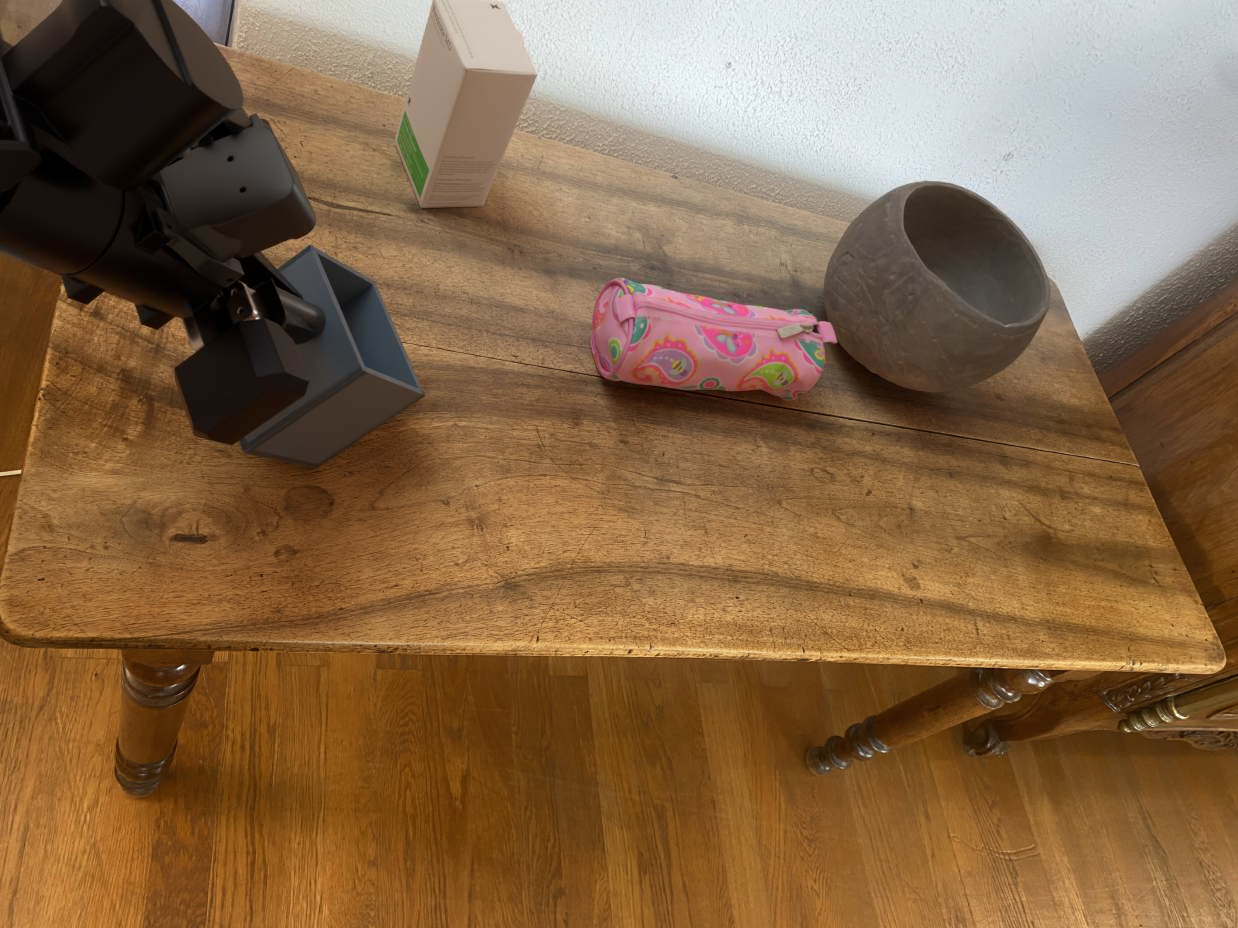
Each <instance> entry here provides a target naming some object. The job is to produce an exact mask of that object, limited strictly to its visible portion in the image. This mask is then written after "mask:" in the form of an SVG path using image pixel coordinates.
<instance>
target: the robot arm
mask: <svg viewBox="0 0 1238 928" xmlns="http://www.w3.org/2000/svg"><path fill="white" fill-rule="evenodd" d="M244 99H245V97H244V93H243V88H242V86H241V83H240V81H239V79H238V77H237V76H236V73H235V72H234V70H233V68H232V66H231V65H230V63H229V62H228V60H227V58H225V56H224V55H223V53H222V52H221V50H220V49H219V48H218V46H217V45H216V44H215V42H214V41H213V40H212V38H211V37H210V36H209V35H208V33H206V31H204V30H203V28H202V27H201V26H200V24H198V23H197V22H196V21H195V19H193V18H192V17H191V16H190V14H188V12H186V11H185V9H183V8H182V7H181V6H180V5H179V4H178V3H177V2H175V1H174V0H61V1H60V4H59V5H58V6H56V8H55V9H54V10H52V12H51V13H50V14H48V15H47V16H46V17H45V18H44V19H43V20H42V21H40V23H38V24H37V25H36V26H35V27H33V29H31V30H30V32H28V33H27V34H26V35H24V36H23V38H21V39H20V40H19V41H18V42H17V43H16V44H14V45H13V44H11V43H9V42H7V41H6V40H5V38H4V35H3V32H2V29H1V27H0V253H1V254H4V255H6V256H8V257H11V258H14V259H17V260H19V261H22V262H24V263H27V264H30V265H32V266H34V267H37V268H40V269H43V270H46V271H48V272H51V273H53V274H56V275H58V276H60V277H61V281H62V284H63V286H64V291H65V294H66V297H67V299H68V300H72V301H74V302H78V303H79V304H83V305H86V306H87V305H89V304H90V303H91V302H93V301H94V300H95V299H97V298H98V297H100V296H101V295H102V294H103V293H106V294H107V295H110V296H114V297H116V298H119V299H121V300H124V301H126V302H128V303H131V304H134V307H135V310H136V313H137V316H138V319H139V322H140V324H141V325H142V326H144V327H147V328H150V329H153V330H155V331H158V330H160V329H161V328H162V327H164V326H166V325H167V324H168V323H169V322H171V321H172V320H173V319H175V318H179V319H181V321H182V324H183V327H184V329H185V333H186V335H187V338H188V340H189V341H188V342H189V344H190V346H191V349H192V350H194V351H195V352H194V353H193V354H191V355H190V356H188V357H187V358H185V359H184V360H183V361H181V362H180V363H179V364H177V365H176V366H175V367H173V373H174V381H175V382H174V383H175V385H176V387H177V391H178V394H179V397H180V400H181V402H182V405H183V408H184V410H185V411H184V412H185V415H186V417H187V420H188V423H189V426H190V428H191V432H192V435H193V436H194V437H197V438H201V439H203V440H206V441H211V442H215V443H219V444H223V445H227V446H233V445H235V444H236V443H238V442H239V440H241V439H242V438H244V437H245V436H246V435H248V434H249V433H251V432H252V431H254V430H255V429H257V428H258V427H260V426H261V425H263V424H264V423H265V422H267V421H268V420H270V419H271V418H273V417H274V416H276V415H277V414H279V413H280V412H281V411H283V410H284V409H286V408H287V407H289V406H290V405H292V404H293V403H295V402H296V401H298V400H299V399H300V398H302V397H303V396H305V393H306V390H307V387H308V384H309V378H308V376H307V373H306V371H305V368H304V366H303V363H302V361H301V358H300V356H299V353H298V351H297V348H296V346H295V345H297V344H303V343H306V342H308V341H310V340H311V339H312V338H314V337H315V336H317V331H316V329H315V328H314V327H313V326H311V325H310V324H309V323H307V322H306V321H305V320H303V319H301V318H300V317H298V316H297V315H295V314H293V313H292V312H290V311H288V310H287V309H285V308H284V306H283V304H282V301H281V299H280V296H279V294H278V291H277V289H276V287H278V288H280V289H282V290H284V291H286V292H289V293H291V294H293V295H295V296H297V297H299V298H301V299H303V297H302V295H301V294H300V293H299V292H298V291H297V289H296V288H295V287H294V286H293V285H292V284H291V283H290V282H289V281H288V280H287V279H286V278H285V277H284V276H283V275H282V274H281V272H280V271H279V270H278V268H277V267H276V266H275V265H274V263H272V262H271V261H270V259H269V258H268V257H266V255H265V254H264V253H263V251H265V250H268V249H271V248H272V247H275V246H277V245H280V244H283V243H284V242H287V241H290V240H299V239H301V238H304V237H306V236H307V235H309V234H310V233H311V232H312V231H313V230H314V228H315V227H316V224H317V215H316V212H315V211H314V210H315V209H314V208H313V206H312V204H311V202H310V199H309V197H308V195H307V191H306V190H305V188H304V184H303V183H302V181H301V178H300V175H299V173H298V171H297V169H296V168H295V166H294V164H293V162H292V161H291V159H290V158H289V156H288V154H287V153H286V151H285V150H284V148H283V146H282V144H281V143H280V141H279V140H278V138H277V136H276V134H275V132H274V130H273V128H272V126H271V123H270V121H269V120H268V119H265V118H260V116H259V115H258V114H257V113H256V112H255V113H253V114H250V115H249V114H248V113H247V111H246V110H245V109H244V108H243V106H244ZM262 282H265V283H264V284H262V285H261V286H260V287H258V288H257V289H256V290H252V288H253V287H254V286H255V285H256V284H258V283H262ZM303 300H304V299H303Z"/></svg>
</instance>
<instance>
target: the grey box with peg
mask: <svg viewBox="0 0 1238 928" xmlns="http://www.w3.org/2000/svg"><path fill="white" fill-rule="evenodd" d="M277 269H278V270H279V271H280V272H281V274H282V275H283V276H284V277H285V278H286V279H287V280H288V281H289V282H290V283H291V284H292V285H293V286H294V287H295V288H296V289H297V291H298V292H299V293H300V294H301V295H302V297H303V299H304V300H303V299H301V298H299V297H297V296H295V295H293V294H291V293H289V292H286V291H284V290H282V289H280V288H278V287H276V289H277V291H278V294H279V296H280V299H281V301H282V304H283V306H284V308H285V309H287V310H288V311H290V312H292V313H293V314H295V315H297V316H298V317H300V318H301V319H303V320H305V321H306V322H307V323H309V324H310V325H311V326H313V327H314V328H315V329H316V331H317V336H315V337H314V338H312V339H311V340H310V341H308V342H306V343H303V344H297V345H295V346H296V348H297V351H298V353H299V356H300V358H301V361H302V363H303V366H304V368H305V371H306V373H307V376H308V378H309V384H308V387H307V390H306V393H305V396H303V397H302V398H300V399H299V400H298V401H296V402H295V403H293V404H292V405H290V406H289V407H287V408H286V409H284V410H283V411H281V412H280V413H279V414H277V415H276V416H274V417H273V418H271V419H270V420H268V421H267V422H265V423H264V424H263V425H261V426H260V427H258V428H257V429H255V430H254V431H252V432H251V433H249V434H248V435H246V436H245V437H244V438H242V439H241V440H239V441H238V442H239V444H240V447H241V450H242V452H243V454H247V455H252V456H256V457H261V458H266V459H270V460H274V461H279V462H284V463H288V464H293V465H297V466H303V467H306V468H311V469H315V470H316V469H317V468H319V467H321V466H322V465H324V464H325V463H327V462H328V461H330V460H331V459H333V458H334V457H336V456H337V455H339V454H340V453H342V452H343V451H345V450H346V449H348V448H349V447H351V446H352V445H354V444H356V443H357V442H358V441H360V440H361V439H363V438H364V437H366V436H367V435H369V434H370V433H372V432H373V431H375V430H377V429H378V428H380V427H381V426H383V425H384V424H385V423H387V422H388V421H390V420H392V419H393V418H395V417H397V416H398V415H399V414H400V413H402V412H404V411H405V410H407V409H408V408H410V407H411V406H413V405H414V404H416V403H418V402H419V401H420V400H421V399H423V398H425V397H426V394H425V391H424V389H423V386H422V385H421V383H420V380H419V377H418V376H417V374H416V371H415V369H414V366H413V365H412V362H411V360H410V357H409V356H408V354H407V353H408V352H407V351H406V348H405V346H404V344H403V342H402V340H401V337H400V335H399V333H398V330H397V328H396V326H395V324H394V321H393V319H392V317H391V315H390V313H389V310H388V308H387V306H386V303H385V301H384V299H383V296H382V294H381V292H380V290H379V288H378V286H377V283H376V281H375V280H374V279H372V278H369V277H368V276H366V275H364V274H362V273H361V272H359V271H357V270H356V269H354V268H352V267H350V266H349V265H347V264H346V263H344V262H343V261H340V260H338V259H336V258H334V257H333V256H331V255H329V254H328V253H325V252H324V251H322V250H320V249H319V248H317V247H315V246H313V245H312V244H309V245H307V246H306V247H305V248H303V249H302V250H301V251H299V252H298V253H297V254H295V255H294V256H292V257H291V258H289V259H288V260H287V261H286V262H285V263H283V264H282V265H280V266H279V267H278V268H277ZM264 283H265V282H262V283H258V284H256V285H255V286H254V287H253V288H252V290H256V289H257V288H258V287H260V286H261V285H262V284H264Z"/></svg>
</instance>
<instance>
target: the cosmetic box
mask: <svg viewBox="0 0 1238 928" xmlns="http://www.w3.org/2000/svg"><path fill="white" fill-rule="evenodd" d="M513 21H514V20H513V19H512V17H511V15H510V13H509V10H508V8H507V6H506V3H505V2H504V1H499V0H432V2H431V6H430V8H429V13H428V17H427V20H426V25H425V27H424V32H423V36H422V39H421V43H420V46H419V50H418V54H417V57H416V61H415V65H414V68H413V72H412V76H411V80H410V83H409V87H408V90H407V93H406V98H405V100H404V103H403V104H404V105H403V108H402V113H401V116H400V120H399V122H398V127H397V130H396V134H395V138H394V144H395V147H396V149H397V152H398V154H399V156H400V160H401V163H402V165H403V167H404V170H405V172H406V175H407V177H408V179H409V182H410V184H411V187H412V190H413V192H414V195H415V197H416V200H417V202H418V205H419V207H420V208H421V209H433V208H434V209H435V208H437V209H438V208H465V207H469V208H471V207H483V206H484V205H485V201H486V200H487V198H488V194H489V192H490V191H491V188H492V185H493V183H494V180H495V177H496V175H497V173H498V170H499V168H500V166H501V163H502V161H503V159H504V157H505V154H506V151H507V149H508V146H509V145H510V141H511V139H512V138H513V134H514V132H515V129H516V128H517V125H518V122H519V121H520V118H521V116H522V113H523V110H524V108H525V106H526V103H527V101H528V98H529V96H530V94H531V92H532V89H533V86H534V84H535V82H536V79H537V77H538V73H537V71H536V68H535V67H534V63H533V62H532V60H531V57H530V56H529V53H528V51H527V49H526V47H525V39H524V37H523V35H522V33H521V31H520V30H519V29H518V28H516V25H515V24H514V22H513Z"/></svg>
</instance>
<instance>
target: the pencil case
mask: <svg viewBox="0 0 1238 928" xmlns="http://www.w3.org/2000/svg"><path fill="white" fill-rule="evenodd" d="M825 343H830V344H833V345H835V344H837V343H838V340H837V339H836V335H835V332H834V329H833V327H832V325H831V323H830V322H828V321H825V320H824V321H818V319H817V318H816V316H814V314H813V311H811V310H808V311H807V310H806V309H803V308H792V309H787V310H781V309H778V308H772V307H766V306H761V305H752V304H741V303H736V302H733V301H726V300H720V299H715V298H712V297H708V296H704V295H698V294H691V293H685V292H679V291H676V290H672V289H667V288H665V287H663V286H661V285H655V284H648V283H638V282H635V281H632V280H630V279H627V278H625V277H616V278H613V279H611V280H609V281H608V282H607V283H606V284H604V286H603V287H602V289H601V290H600V292H599V294H598V295H597V298H596V300H595V303H594V306H593V313H592V319H591V335H590V348H591V352H592V356H593V359H594V361H595V365H596V368H597V370H598V372H599V374H600V375H601V376H602V377H603V378H605V379H607V380H610V381H614V382H620V381H622V382H625V383H629V384H635V385H644V386H654V387H655V386H656V387H661V388H662V387H663V388H666V389H667V388H668V389H675V390H681V391H696V390H703V391H704V390H716V391H717V390H718V391H725V392H744V391H756V390H757V391H758V390H761V391H764V392H765V393H767V394H769V395H771V396H775V397H780V398H781V399H782V400H784V401H787V402H791V401H796V400H797V399H799V398H800V397H801V396H803V395H805V394H806V393H807V392H808V391H810V390H811V389H812V388H813V387H814V386H815V385H817V383H818V381H819V380H820V377H821V375H822V373H823V370H824V367H825V363H826V349H825Z"/></svg>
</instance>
